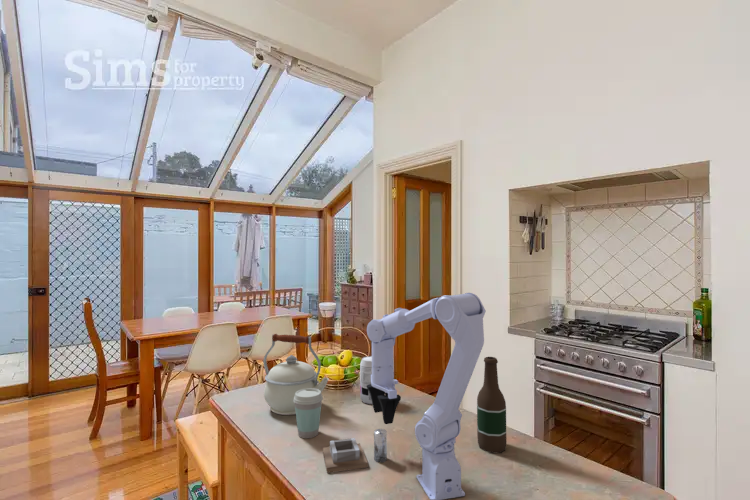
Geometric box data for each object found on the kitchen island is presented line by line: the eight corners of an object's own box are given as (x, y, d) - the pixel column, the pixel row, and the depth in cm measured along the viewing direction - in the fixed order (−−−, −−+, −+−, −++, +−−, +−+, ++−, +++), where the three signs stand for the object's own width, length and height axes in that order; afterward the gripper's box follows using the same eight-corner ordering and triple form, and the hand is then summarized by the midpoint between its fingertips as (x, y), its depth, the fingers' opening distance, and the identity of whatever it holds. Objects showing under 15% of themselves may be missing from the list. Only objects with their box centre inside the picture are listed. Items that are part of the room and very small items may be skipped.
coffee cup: (327, 436, 111) (327, 394, 111) (298, 443, 107) (298, 399, 107) (316, 425, 119) (316, 385, 119) (289, 431, 114) (289, 390, 115)
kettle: (248, 413, 128) (248, 338, 128) (278, 394, 145) (278, 328, 146) (316, 423, 120) (315, 343, 120) (339, 402, 137) (339, 332, 138)
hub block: (367, 467, 94) (367, 452, 95) (326, 472, 92) (326, 457, 92) (359, 447, 104) (359, 434, 104) (322, 452, 102) (322, 438, 102)
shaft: (388, 461, 97) (387, 433, 97) (375, 463, 96) (375, 435, 97) (384, 455, 100) (384, 428, 100) (372, 456, 100) (372, 429, 100)
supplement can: (357, 398, 141) (356, 357, 141) (377, 395, 144) (377, 354, 145) (365, 406, 133) (365, 362, 134) (387, 402, 137) (386, 360, 137)
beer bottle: (486, 455, 100) (485, 362, 100) (471, 441, 107) (470, 355, 108) (512, 451, 102) (511, 360, 102) (496, 438, 109) (495, 353, 110)
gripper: (408, 370, 95) (408, 426, 95) (387, 356, 109) (387, 405, 108) (381, 373, 93) (381, 430, 92) (363, 359, 106) (363, 408, 106)
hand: (383, 417), depth 100 cm, fingers open, 7 cm apart
